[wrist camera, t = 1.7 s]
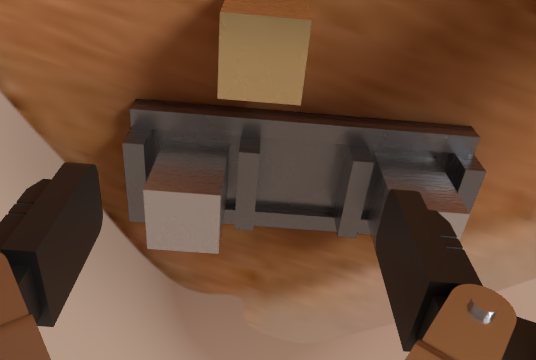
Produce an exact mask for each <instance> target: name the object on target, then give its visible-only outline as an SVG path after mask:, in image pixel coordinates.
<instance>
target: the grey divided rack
mask: <svg viewBox="0 0 536 360" xmlns="http://www.w3.org/2000/svg"><path fill="white" fill-rule="evenodd" d="M130 119H131V128H130V130H129V132H128V134H127V135H126V137H125V139H124V141H123V142H122V148H123V158H124V169H125V179H126V190H127V201H128V211H129V222H142V223H146V238H147V249H157V250H172V251H186V252H200V253H214V254H219V247H220V241H221V234H222V227H223V224H235V227H234V229H239V230H253V228H254V226H263V227H276V228H290V229H304V230H318V231H332V232H337V237H350V238H356V236H357V233H359V234H371V237H372V240H373V244H374V247H375V251H376V235H377V231H378V227H379V223H380V220H381V216H382V213H383V209H384V205H385V202H386V198H387V195H388V192H389V191H390V190H391V189H397V190H409V191H418V192H420V194H421V196H422V198H423V200H424V202H425V204H426V206H427V208H428V210H436V211H438V212H439V213H440V214H441V215H442V216H443V217H444V218H445V219H446V220H447V221H449V222H450V224H451V226H452V228H453V230H454V232H455V233H456V235H457V239H459V241H460V238H461V236H462V233H463V231H464V228H465V226H466V223H467V221H468V218H469V216H470V211H471V209H472V206H473V204H474V201H475V199H476V196H477V194H478V191H479V189H480V186H481V184H482V181H483V178H484V176H485V173H486V171H485V169H484V168H483V167H482V165H481V164H480V162H479V161H478V160H477V158H476V157H475V156H474V153H475V150H476V147H477V145H478V142H479V139H480V137H479V135H478V134H477V133H476V132H475V130H474V129H473V128H472V127H471V126H460V125H448V124H436V123H424V122H412V121H399V120H387V119H375V118H363V117H351V116H338V115H326V114H314V113H302V112H290V111H277V110H265V109H253V108H241V107H229V106H216V105H204V104H192V103H180V102H168V101H155V100H143V99H136V100H135V101H134V103H133V104H132V106H131V108H130ZM376 255H377V254H376Z"/></svg>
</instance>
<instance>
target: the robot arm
mask: <svg viewBox="0 0 536 360" xmlns="http://www.w3.org/2000/svg"><path fill="white" fill-rule="evenodd" d="M102 219H103V210H102V202H101V194H100V186H99V178H98V171H97V168H96V166H95V165H93V164H82V163H69V162H66V163H64V164H63V165H62V166H61V168H60V169H59V170H58V172H57V173H56V174H55V176H54V177H53V179H52V180H50V179H42V180H41V181H39V182H37V183H36V184H34V185H33V186H31V187H29V188H28V189H26V191H25V192H24V193H23V194H22V196H21V197H20V198H19V199H18V201H17V204H15V205H14V206H13V207H12V208H11V209H10V211H9V214H8V215H6V216H5V217H4V218H3V220H2V221H1V222H0V360H51V359H50V356H49V354H48V352H47V349H46V346H45V344H44V342H43V339H42V337H41V334H40V332H39V329H38V327H37V326H47V327H54V325H55V323H56V321H57V318H58V317H59V314H60V313H61V310H62V308H63V306H64V304H65V302H66V300H67V298H68V296H69V294H70V292H71V290H72V288H73V286H74V284H75V282H76V280H77V278H78V276H79V273H80V272H81V270H82V268H83V266H84V264H85V262H86V260H87V258H88V255H89V253H90V251H91V249H92V247H93V245H94V243H95V241H96V239H97V237H98V235H99V233H100V230H101V226H102ZM376 254H377V258H378V262H379V265H380V269H381V273H382V276H383V280H384V283H385V287H386V290H387V294H388V298H389V301H390V305H391V308H392V312H393V316H394V319H395V323H396V326H397V330H398V333H399V337H400V341H401V344H402V348H403V351H410V353H409V354H408V356H407V358H406V359H405V360H536V323H534V322H531V321H528V320H525V319H522V318H519V317H517V316H516V313H515V311H514V309H513V307H512V306H511V305H510V303H509V302H508V301H507V300H506V299H505V298H503V297H502V296H501V295H499V294H498V293H496V292H495V291H493V290H491V289H488V288H486V287H483V285H482V283H481V281H480V280H479V278H478V276H477V274H476V272H475V270H474V268H473V266H472V264H471V262H470V260H469V258H468V257H467V255H466V253H465V251H464V250H462V245H461V243H460V241H459V239H457V235H456V233H455V232H454V230H453V228H452V226H451V224H450V222H449V221H447V220H446V219H445V218H444V217H443V216H442V215H441V214H440V213H439V212H438V211H436V210H428V208H427V206H426V204H425V202H424V200H423V198H422V196H421V194H420V192H418V191H409V190H397V189H391V190H390V191H389V192H388V195H387V198H386V202H385V205H384V209H383V213H382V216H381V220H380V223H379V227H378V231H377V235H376Z"/></svg>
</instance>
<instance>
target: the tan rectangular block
mask: <svg viewBox="0 0 536 360" xmlns="http://www.w3.org/2000/svg"><path fill="white" fill-rule="evenodd" d="M311 24H312V18H311V15H310V11H309V8H308V4H307V1H306V0H224V3H223V5H222V8H221V10H220V24H219V59H218V94H217V99H229V100H241V101H253V102H265V103H277V104H290V105H301V100H302V92H303V85H304V77H305V70H306V62H307V55H308V47H309V39H310V32H311Z"/></svg>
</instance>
